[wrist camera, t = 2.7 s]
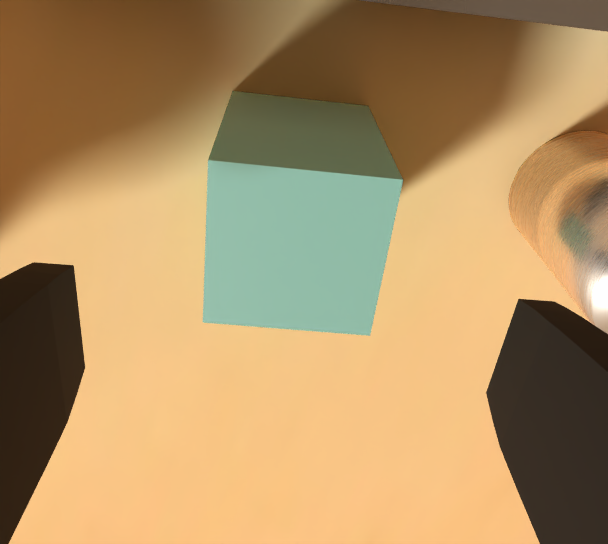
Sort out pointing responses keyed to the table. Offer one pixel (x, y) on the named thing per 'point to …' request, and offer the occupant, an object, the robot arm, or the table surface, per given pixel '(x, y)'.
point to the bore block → (524, 10)
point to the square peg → (297, 215)
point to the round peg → (568, 215)
